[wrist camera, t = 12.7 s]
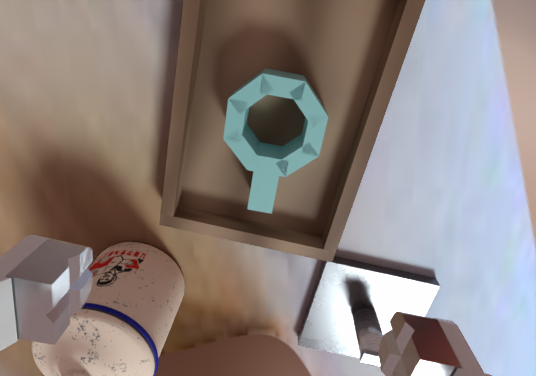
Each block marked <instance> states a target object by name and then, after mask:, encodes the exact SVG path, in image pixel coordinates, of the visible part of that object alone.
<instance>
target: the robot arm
mask: <svg viewBox="0 0 536 376" xmlns="http://www.w3.org/2000/svg"><path fill="white" fill-rule="evenodd" d="M92 261H93V250H92V249H91V248H90V247H87V246H82V245H78V244H74V243H69V242H65V241H61V240H56V239H50V238H46V237H42V236H37V235H28V236H26V237H25V238H23V239H22V240H21V241H20V242H18V243H17V244H16V245H15V246H13V247H12V248H11V249H10V250H8V251H7V252H6V253H4V254H3V255H2V256H1V257H0V351H1V350H3V349H4V348H6V347H8V346H10V345H11V344H13V343H15V342H16V341H17V340H18V339H22V340H28V341H34V342H40V343H46V344H52V345H55V343H56V342H57V341H58V339H59V338H60V337H61V335H62V334H63V333H64V331H65V330H66V329H67V327H68V326H69V325H70V315H72V314H74V313H76V312H78V311H80V310H81V308H82V307H83V305H84V304H85V303H86V301H87V298H88V296H89V294H90V291H91V287H92V282H93V274H92V273H91V272H90V270H89V269H88V266H89V265H90V264H91V263H92ZM390 324H391V327H392V330H390V331H388V332H387V333H385V334H384V335H383V338H382V340H381V342H380V348H379V363H380V367H381V371H382V372H383V373H384V374H385V375H386V376H491V375H489V374H485V373H484V372H483V370H482V368H481V366H480V365H479V363H478V361H477V359H476V358H475V356H474V354H473V352H472V351H471V349H470V347H469V345H468V344H467V342H466V340H465V338H464V336H463V335H462V333H461V331H460V329H459V328H458V326H457V325H456V324H455V323H454V322H453V321H449V320H443V319H438V318H429V317H424V316H419V315H415V314H410V313H405V312H400V311H397V312H395V313H394V314H393V316H392V318H391V320H390Z"/></svg>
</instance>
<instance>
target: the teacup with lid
mask: <svg viewBox="0 0 536 376" xmlns="http://www.w3.org/2000/svg"><path fill="white" fill-rule="evenodd" d="M88 269H89V270H90V272H91V273H92V274H93V282H92V287H91V291H90V294H89V296H88V298H87V301H86V303H85V304H84V305H83V307H82V308H81V310H80V311H78V312H76V313H74V314H72V315H70V325H69V326H68V327H67V329H66V330H65V331H64V333H63V334H62V335H61V337H60V338H59V339H58V341H57V342H56V343H55V345H52V344H46V343H40V342H34V341H32V354H33V357H34V360H35V362H36V364H37V366H38V368H39V369H40V370H41V372H42V373H43V374H44V375H45V376H155V374H156V372H157V368H158V361H159V360H158V358H159V356H160V353H161V351H162V348H163V346H164V343H165V341H166V338H167V336H168V333H169V331H170V328H171V326H172V323H173V321H174V318H175V316H176V313H177V311H178V308H179V306H180V303H181V301H182V298H183V295H184V290H185V284H184V278H183V275H182V273H181V270H180V269H179V267H178V266H177V264H176V263H175V262H174V261H173V260H172V259H171V258H170V257H169V256H168V255H167V254H166V253H164V252H163V251H161V250H159V249H157V248H155V247H153V246H150V245H147V244H143V243H138V242H124V243H119V244H116V245H113V246H110V247H109V248H107V249H105V250H104V251H103V252H102V253H101V254H100V255H99V256H98V257H97V258H96V259H95V261H94V262H93V263H92V264H91V265H90V266H89V268H88Z"/></svg>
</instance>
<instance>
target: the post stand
mask: <svg viewBox="0 0 536 376" xmlns="http://www.w3.org/2000/svg"><path fill="white" fill-rule="evenodd" d="M439 288H440V285H439V283H438V281H437V279H435V278H430V277H426V276H421V275H417V274H412V273H408V272H403V271H398V270H394V269H389V268H385V267H380V266H376V265H371V264H367V263H362V262H357V261H353V260H348V259H344V258H339V257H335V256H334V259H333V262H328V261H324V262H323V265H322V268H321V271H320V274H319V277H318V280H317V282H316V285H315V288H314V291H313V294H312V297H311V300H310V303H309V306H308V309H307V312H306V315H305V317H304V320H303V323H302V326H301V329H300V332H299V335H298V345H300V346H304V347H309V348H314V349H319V350H323V351H328V352H333V353H338V354H342V355H347V356H352V357H357V358H360V361H361V362H363V363H366V364H368V365H378V366H380V363H379V348H380V342H381V340H382V338H383V335H384V334H385V333H387V332H388V331H390V330H392V327H391V324H390V320H391V318H392V316H393V314H394V313H395V312H397V311H400V312H405V313H410V314H415V315H419V316H425V314H426V313H427V311H428V309H429V307H430V305H431V303H432V301H433V299H434V297H435V295H436V293H437V292H438V290H439Z"/></svg>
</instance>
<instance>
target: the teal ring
mask: <svg viewBox="0 0 536 376" xmlns="http://www.w3.org/2000/svg"><path fill="white" fill-rule="evenodd" d="M267 94H268V95H273V96H278V97H284V98H289V99H294V101H295V102H296V104H297V105H298V107H299V108H300V110H301V111H302V113H303V114H304V116H305V121H304V126H303V131H302V134H301V135H299V136H298V137H296V138H295V139H293V140H292V141H290V142H289V143H287V144H286V145H284V146H278V145H273V144H267V143H262V142H260V141H259V139H258V138H257V137H256V135H255V134H254V133H253V131H252V130H251V129H250V127H249V126H248V124H247V121H248V115H249V108H250V106H252V105H253V104H254V103H256V102H257V101H259V100H260V99H261V98H263V97H264V96H266V95H267ZM327 121H328V115H327V112H326V110H325V107H324V106H323V104H322V103H321V101H320V100H319V98H318V96H317V95H316V93H315V92H314V90H313V89H312V87H311V85H310V84H309V82H308V81H307V79H306V78H305V76H304V75H299V74H294V73H289V72H283V71H278V70H272V69H267V68H265V69H264V70H263V71H261V72H260V73H259V74H257V75H256V76H255V77H253V78H252V79H250V80H249V81H248V82H246V83H245V84H244V85H242V86H241V87H240V88H238V89H237V90H236V91H234V93H233V94H232V95H231V96H230V97H229V98H228V104H227V113H226V121H225V129H224V137H223V139H224V141H225V142H226V143H227V144H228V146H229V147H230V148H231V150H232V151H233V152H234V154H235V155H236V156H237V157H238V159H239V160H240V161H241V163H242V164H243V165H244V167H245V168H246V169H247V170H249V171H254V172H253V178H252V184H251V190H250V196H249V202H248V208H247V209H249V210H254V211H260V212H265V213H271V214H272V210H273V205H274V200H275V195H276V190H277V185H278V180H279V176H282V177H287V176H288V175H290V174H291V173H293V172H295V171H296V170H298V169H300V168H301V167H303V166H304V165H306V164H308V163H309V162H311V161H312V160H314V159H316V158H317V157H319V154H320V150H321V146H322V142H323V138H324V133H325V129H326V125H327Z"/></svg>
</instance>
